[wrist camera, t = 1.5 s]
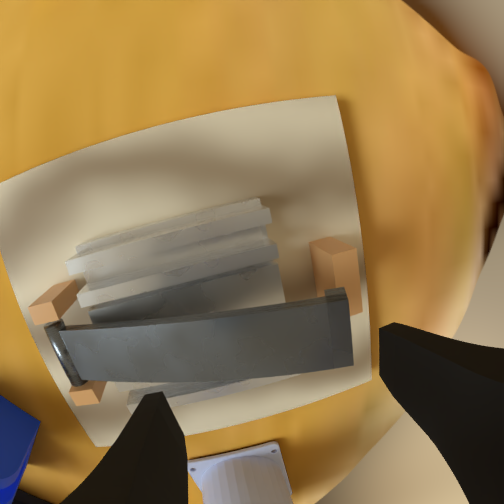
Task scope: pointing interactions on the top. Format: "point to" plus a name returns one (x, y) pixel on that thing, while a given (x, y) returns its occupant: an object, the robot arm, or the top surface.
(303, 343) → the retention strap
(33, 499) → the black rectangular slab
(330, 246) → the lugs
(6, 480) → the bracket
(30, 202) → the board
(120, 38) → the top surface
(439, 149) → the top surface
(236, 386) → the heat sink
